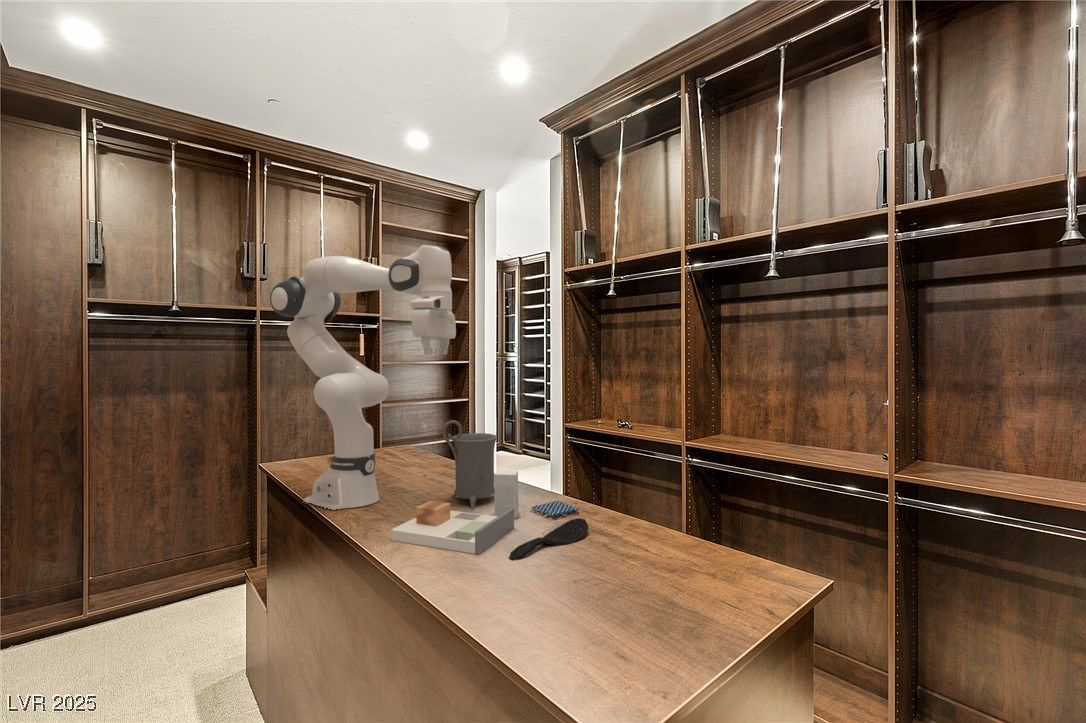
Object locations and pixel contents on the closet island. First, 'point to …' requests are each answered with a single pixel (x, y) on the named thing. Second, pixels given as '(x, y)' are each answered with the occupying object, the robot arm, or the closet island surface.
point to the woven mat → (554, 510)
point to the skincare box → (506, 492)
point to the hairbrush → (554, 537)
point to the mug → (472, 463)
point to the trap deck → (457, 532)
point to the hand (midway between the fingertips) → (435, 354)
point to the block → (433, 513)
